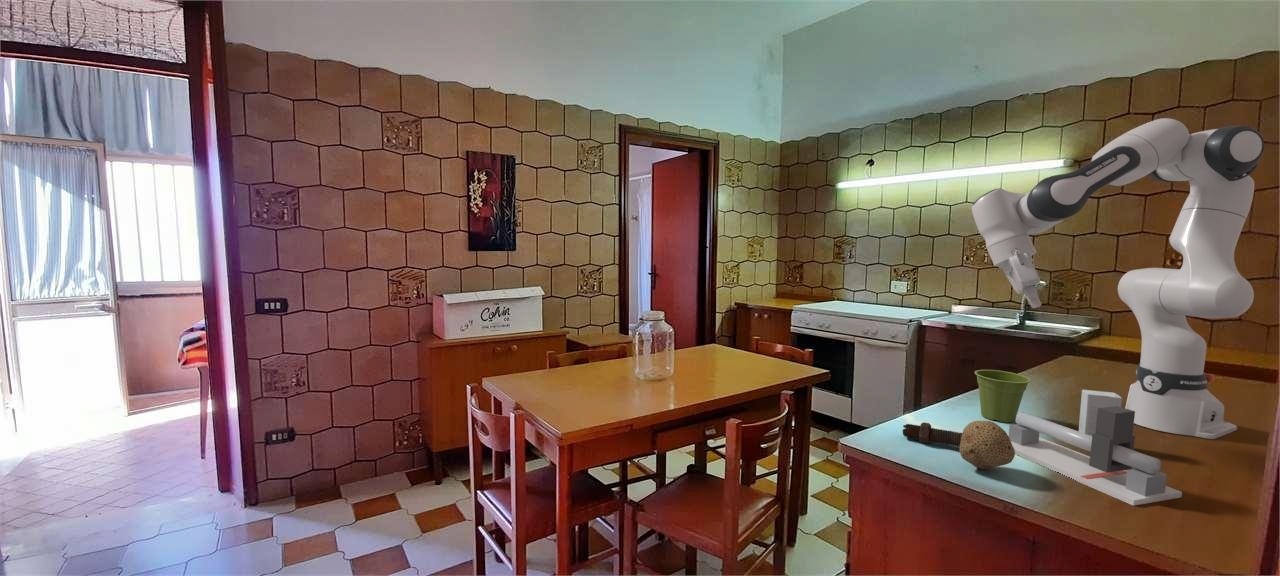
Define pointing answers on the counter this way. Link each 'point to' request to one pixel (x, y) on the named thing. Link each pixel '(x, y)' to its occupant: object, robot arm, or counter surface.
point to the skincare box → (1095, 408)
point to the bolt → (932, 434)
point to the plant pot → (1000, 394)
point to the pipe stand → (1122, 485)
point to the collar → (1111, 437)
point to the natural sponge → (986, 445)
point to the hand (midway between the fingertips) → (1037, 307)
